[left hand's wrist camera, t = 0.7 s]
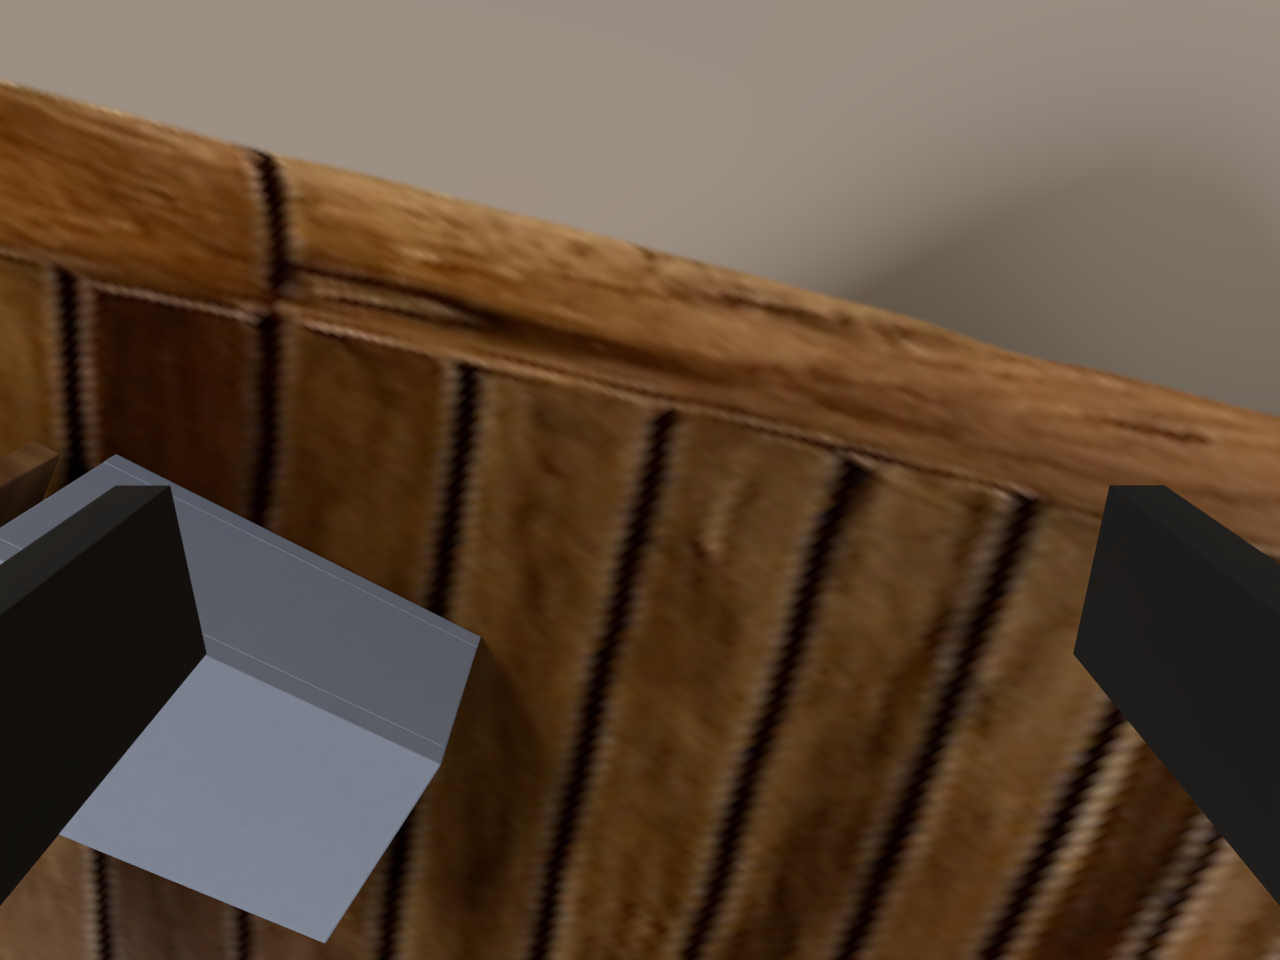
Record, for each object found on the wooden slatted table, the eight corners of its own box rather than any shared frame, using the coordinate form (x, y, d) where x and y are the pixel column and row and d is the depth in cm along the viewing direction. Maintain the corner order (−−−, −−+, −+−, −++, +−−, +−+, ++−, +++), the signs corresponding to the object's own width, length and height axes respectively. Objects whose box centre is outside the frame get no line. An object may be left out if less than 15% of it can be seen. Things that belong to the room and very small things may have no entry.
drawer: (-146, 560, 40) (-304, 648, 34) (-91, 378, 37) (-254, 435, 30) (308, 764, 45) (248, 879, 38) (392, 617, 41) (344, 714, 35)
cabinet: (41, 638, 43) (-109, 766, 34) (116, 453, 39) (-31, 546, 31) (383, 792, 47) (324, 944, 38) (481, 636, 43) (441, 765, 34)
